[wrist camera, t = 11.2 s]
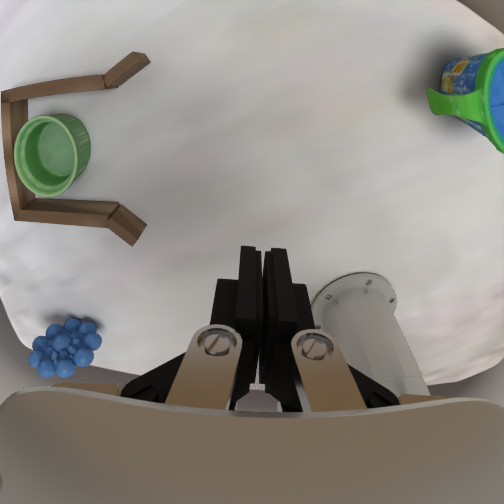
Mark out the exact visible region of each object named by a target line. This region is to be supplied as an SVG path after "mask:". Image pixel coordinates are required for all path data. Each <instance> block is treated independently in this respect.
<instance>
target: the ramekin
mask: <svg viewBox="0 0 504 504" xmlns="http://www.w3.org/2000/svg"><path fill="white" fill-rule="evenodd" d="M89 156H90V140H89V137H88V133H87V131H86V129H85V127H84V126H83V125H82V123H81V122H80V121H79V120H78V119H76V118H75V117H73V116H71V115H67V114H55V115H41V116H37V117H34V118H32V119H30V120H29V121H28V122H26V123H25V125H24V126H23V127H22V128H21V130H20V132H19V134H18V136H17V139H16V142H15V147H14V162H15V167H16V170H17V173H18V175H19V177H20V179H21V181H22V182H23V184H24V185H25V186H26V187H27V188H28V189H29V190H30V191H32V192H33V193H35V194H37V195H39V196H43V197H54V196H58V195H60V194H62V193H63V192H65V191H66V190H67V189H68V188H69V187H70V185H71V184H72V183H73V181H74V180H75V179H76V178H77V177H78V176H79V175H80V174H81V172H82V171H83V170H84V169H85V167H86V165H87V163H88V160H89Z"/></svg>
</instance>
